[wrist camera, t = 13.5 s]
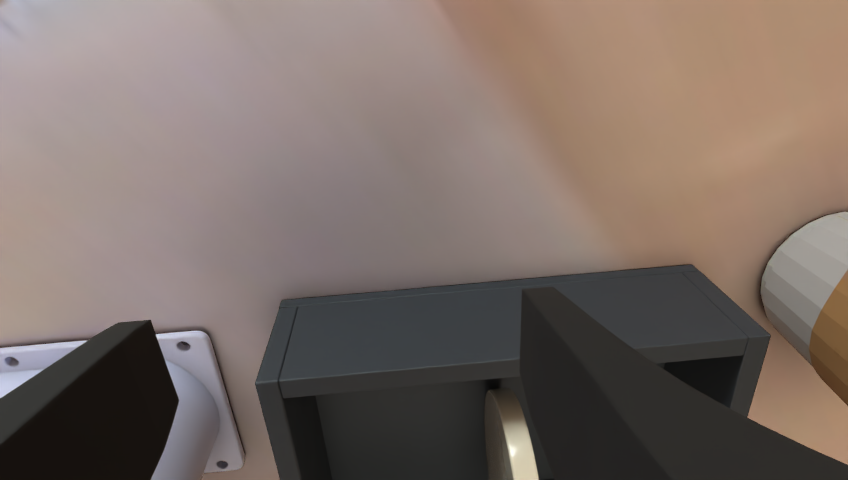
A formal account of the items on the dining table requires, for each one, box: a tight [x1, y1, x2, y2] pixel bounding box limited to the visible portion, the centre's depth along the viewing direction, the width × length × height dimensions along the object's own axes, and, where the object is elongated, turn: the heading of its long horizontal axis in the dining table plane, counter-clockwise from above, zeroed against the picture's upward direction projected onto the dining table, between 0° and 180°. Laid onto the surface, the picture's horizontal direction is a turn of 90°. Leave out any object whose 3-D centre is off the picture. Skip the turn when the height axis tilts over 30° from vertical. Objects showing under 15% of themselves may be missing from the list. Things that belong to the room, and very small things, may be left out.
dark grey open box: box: [255, 265, 771, 480], centre depth 23 cm, size 18×13×5 cm
